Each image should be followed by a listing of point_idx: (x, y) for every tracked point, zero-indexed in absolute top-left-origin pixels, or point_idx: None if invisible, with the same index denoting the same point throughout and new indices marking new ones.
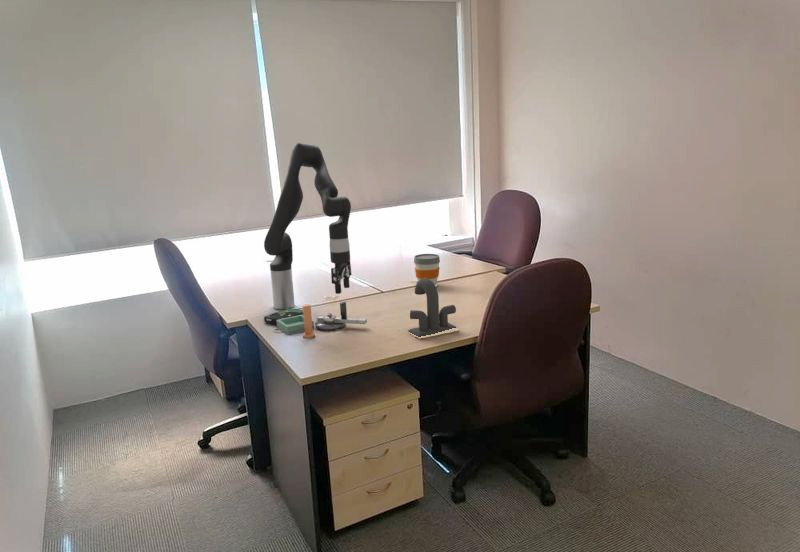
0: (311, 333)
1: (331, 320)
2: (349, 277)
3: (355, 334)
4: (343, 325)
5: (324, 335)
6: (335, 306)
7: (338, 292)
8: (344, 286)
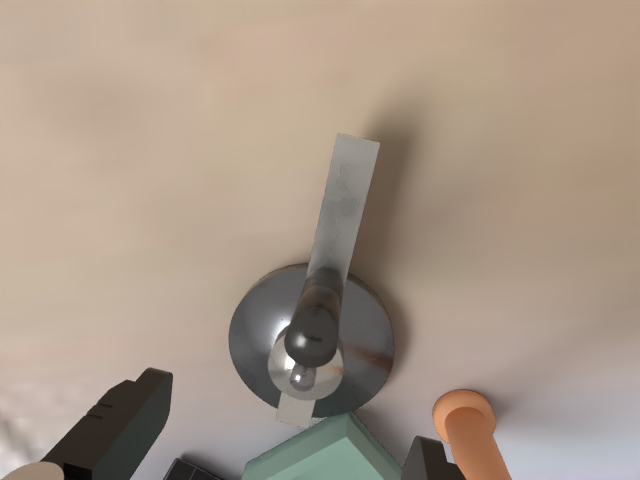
0: (479, 414)
1: (339, 350)
2: (35, 470)
3: (466, 185)
4: None
5: (460, 347)
6: (4, 352)
7: (455, 473)
8: (159, 426)
